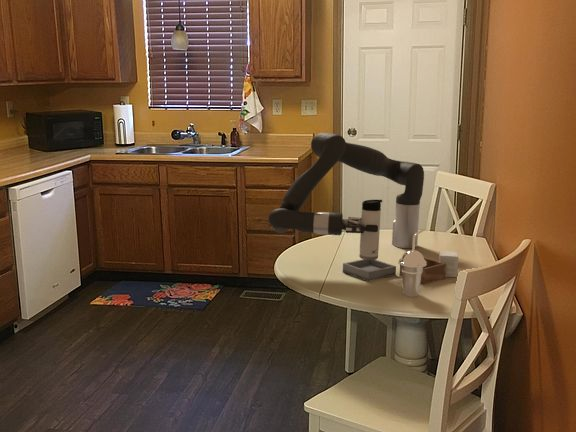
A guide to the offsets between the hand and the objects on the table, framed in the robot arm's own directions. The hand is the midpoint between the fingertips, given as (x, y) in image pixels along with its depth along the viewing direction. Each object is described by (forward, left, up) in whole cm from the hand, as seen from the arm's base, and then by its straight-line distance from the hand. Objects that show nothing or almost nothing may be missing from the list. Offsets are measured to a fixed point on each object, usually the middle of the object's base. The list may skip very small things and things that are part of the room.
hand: (377, 226), depth 209 cm
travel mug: (-2, -2, -11) cm, 11 cm away
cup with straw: (+21, -6, -17) cm, 28 cm away
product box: (+14, +20, -17) cm, 30 cm away
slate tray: (-2, -2, -16) cm, 17 cm away
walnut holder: (+11, +10, -16) cm, 23 cm away
